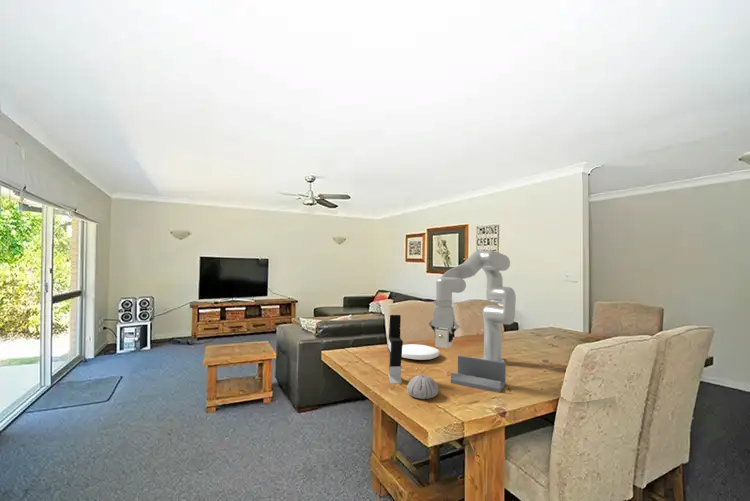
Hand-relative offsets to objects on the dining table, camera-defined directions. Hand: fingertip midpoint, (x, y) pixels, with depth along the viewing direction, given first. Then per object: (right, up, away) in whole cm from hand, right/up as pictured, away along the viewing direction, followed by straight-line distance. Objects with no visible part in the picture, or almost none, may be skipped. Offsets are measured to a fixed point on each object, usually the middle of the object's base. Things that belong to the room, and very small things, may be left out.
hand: (443, 340), depth 177 cm
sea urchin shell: (-14, -17, -24) cm, 33 cm away
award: (-24, -17, -5) cm, 30 cm away
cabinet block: (0, -3, 0) cm, 3 cm away
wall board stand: (+14, -18, -9) cm, 24 cm away
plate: (-9, -19, +36) cm, 41 cm away
